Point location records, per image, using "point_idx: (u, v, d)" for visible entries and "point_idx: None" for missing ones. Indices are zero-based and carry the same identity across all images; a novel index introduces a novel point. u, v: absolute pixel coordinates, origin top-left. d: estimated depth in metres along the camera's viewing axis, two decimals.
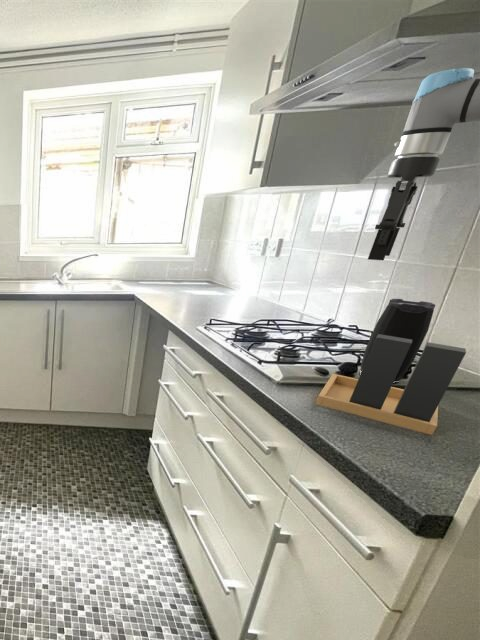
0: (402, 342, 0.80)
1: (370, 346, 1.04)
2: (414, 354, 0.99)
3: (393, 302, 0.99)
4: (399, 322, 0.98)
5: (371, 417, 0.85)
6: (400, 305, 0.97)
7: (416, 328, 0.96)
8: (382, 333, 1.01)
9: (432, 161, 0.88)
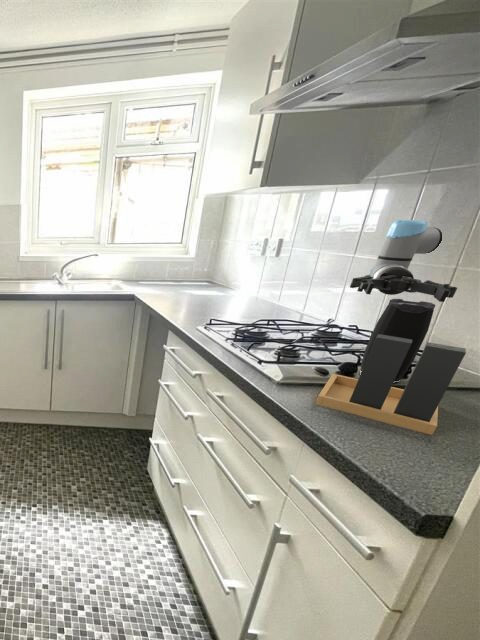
0: (402, 342, 0.80)
1: (370, 346, 1.04)
2: (414, 354, 0.99)
3: (393, 302, 0.99)
4: (399, 322, 0.98)
5: (371, 417, 0.85)
6: (400, 305, 0.97)
7: (416, 328, 0.96)
8: (382, 333, 1.01)
9: (386, 269, 1.19)
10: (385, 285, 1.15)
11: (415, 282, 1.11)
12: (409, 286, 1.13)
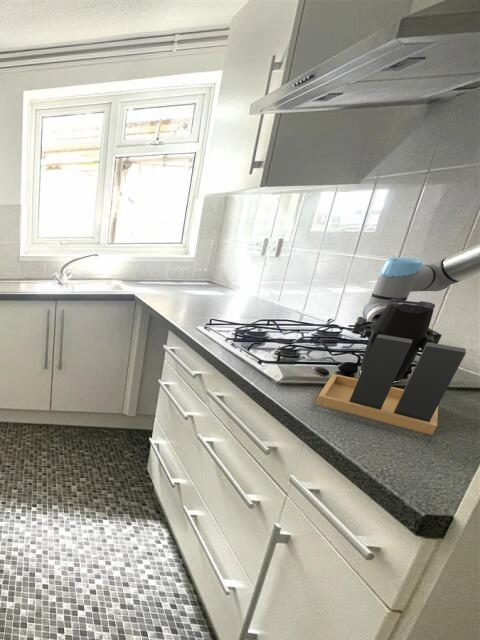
0: (402, 342, 0.80)
1: (370, 346, 1.04)
2: (414, 354, 0.99)
3: (393, 302, 0.99)
4: (399, 322, 0.98)
5: (371, 417, 0.85)
6: (400, 305, 0.97)
7: (416, 328, 0.96)
8: (382, 333, 1.01)
9: (379, 310, 1.14)
10: None
11: None
12: None
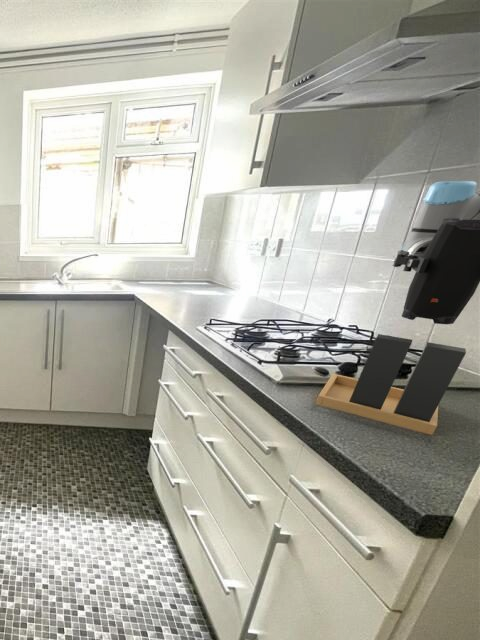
0: (402, 342, 0.80)
1: (418, 279, 0.84)
2: (475, 284, 0.79)
3: (448, 220, 0.80)
4: (457, 244, 0.78)
5: (371, 417, 0.85)
6: (458, 222, 0.78)
7: None
8: (434, 260, 0.81)
9: (424, 242, 0.94)
10: None
11: None
12: None
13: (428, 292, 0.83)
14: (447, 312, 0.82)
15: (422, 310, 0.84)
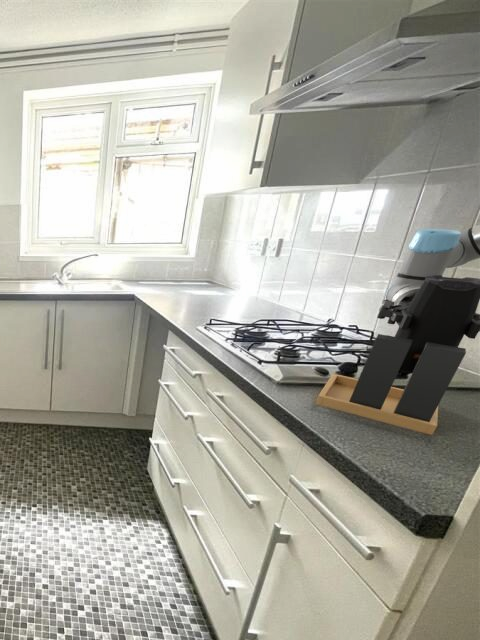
0: (402, 342, 0.80)
1: (401, 334, 0.85)
2: (457, 343, 0.80)
3: (431, 278, 0.80)
4: (439, 303, 0.79)
5: (371, 417, 0.85)
6: (441, 281, 0.78)
7: (461, 310, 0.77)
8: (417, 317, 0.82)
9: (409, 291, 0.95)
10: None
11: None
12: None
13: (411, 348, 0.83)
14: None
15: (405, 365, 0.84)
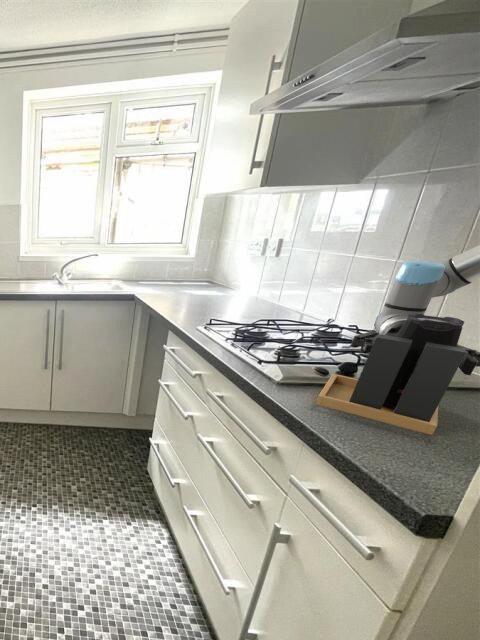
0: (402, 342, 0.80)
1: None
2: None
3: (413, 317, 0.84)
4: (420, 342, 0.82)
5: (371, 417, 0.85)
6: (422, 321, 0.81)
7: None
8: None
9: (395, 322, 0.98)
10: None
11: None
12: None
13: (394, 383, 0.86)
14: None
15: (389, 399, 0.88)
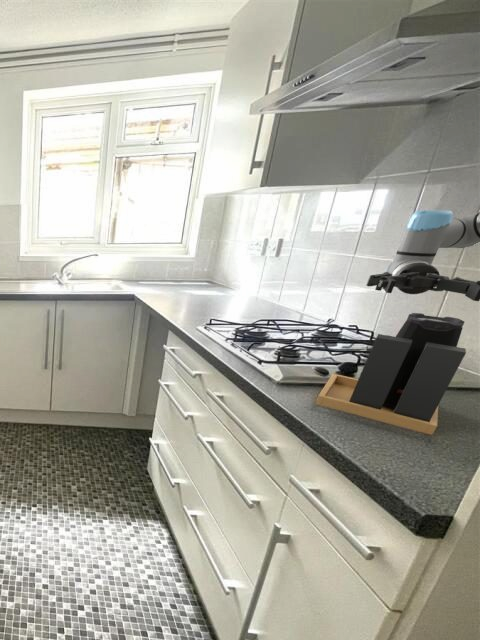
0: (402, 342, 0.80)
1: None
2: None
3: (413, 317, 0.84)
4: (420, 342, 0.82)
5: (371, 417, 0.85)
6: (422, 321, 0.81)
7: None
8: None
9: (407, 265, 1.05)
10: (407, 283, 1.01)
11: (442, 279, 0.97)
12: (435, 284, 0.99)
13: (394, 383, 0.86)
14: None
15: (389, 399, 0.88)
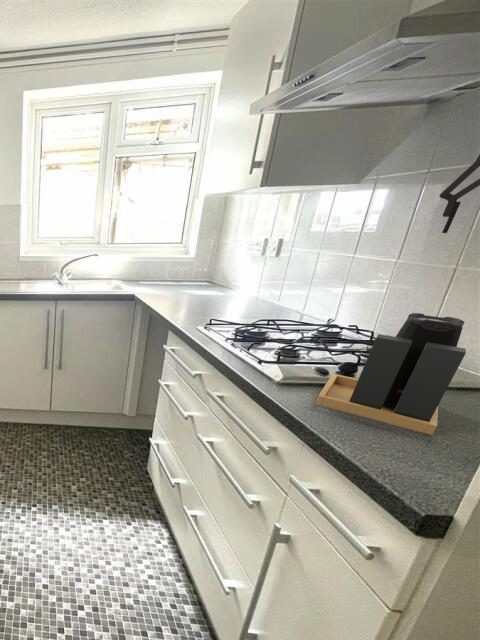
0: (402, 342, 0.80)
1: None
2: None
3: (413, 317, 0.84)
4: (420, 342, 0.82)
5: (371, 417, 0.85)
6: (422, 321, 0.81)
7: None
8: None
9: None
10: None
11: None
12: None
13: (394, 383, 0.86)
14: None
15: (389, 399, 0.88)
